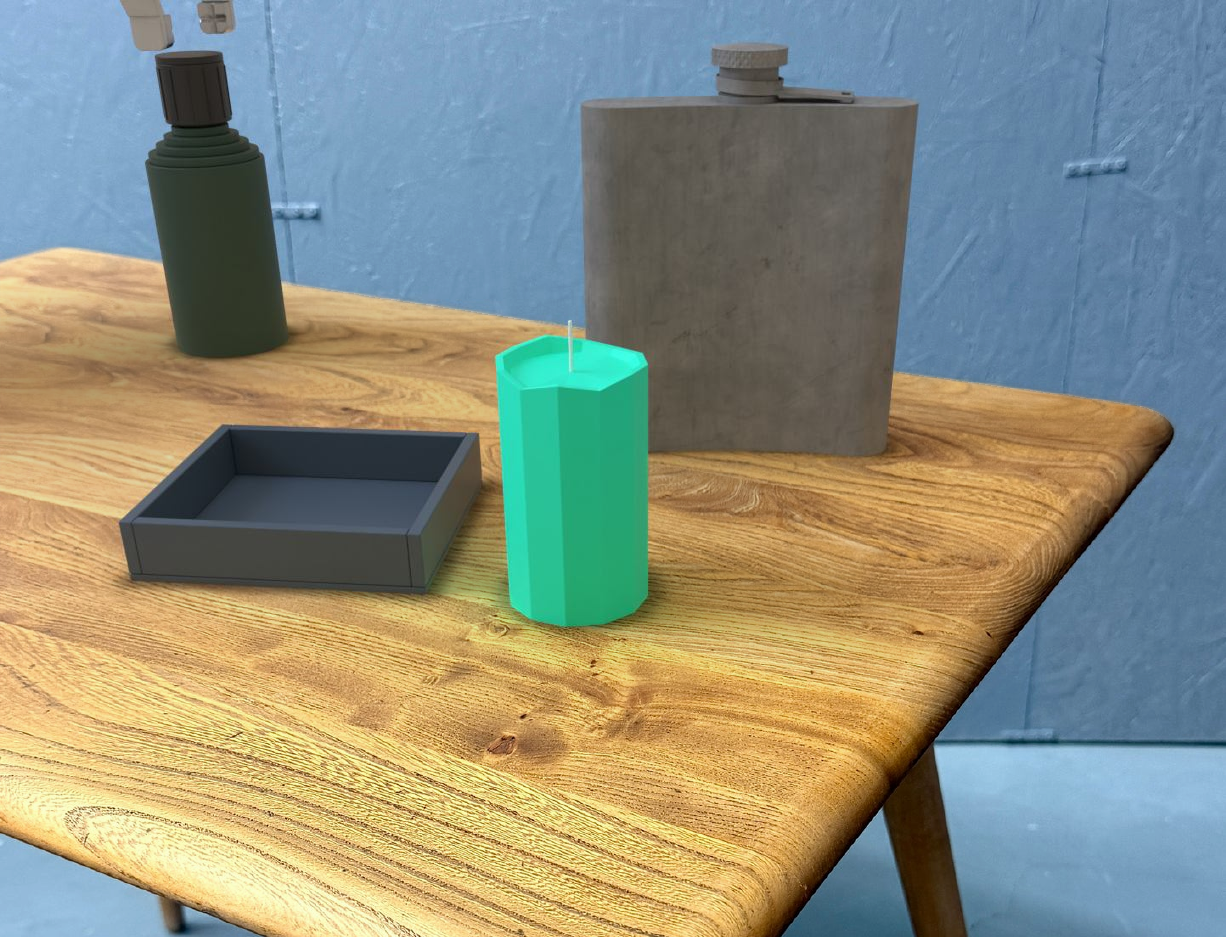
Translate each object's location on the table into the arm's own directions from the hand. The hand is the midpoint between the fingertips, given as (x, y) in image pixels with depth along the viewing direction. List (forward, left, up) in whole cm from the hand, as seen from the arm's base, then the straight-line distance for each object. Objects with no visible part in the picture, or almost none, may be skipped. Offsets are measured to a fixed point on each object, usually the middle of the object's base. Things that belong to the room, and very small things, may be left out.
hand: (189, 41), depth 78 cm
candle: (+28, -33, -19) cm, 47 cm away
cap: (0, 0, -5) cm, 5 cm away
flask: (0, 0, -19) cm, 19 cm away
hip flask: (+34, -15, -19) cm, 42 cm away
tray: (+15, -28, -19) cm, 37 cm away
